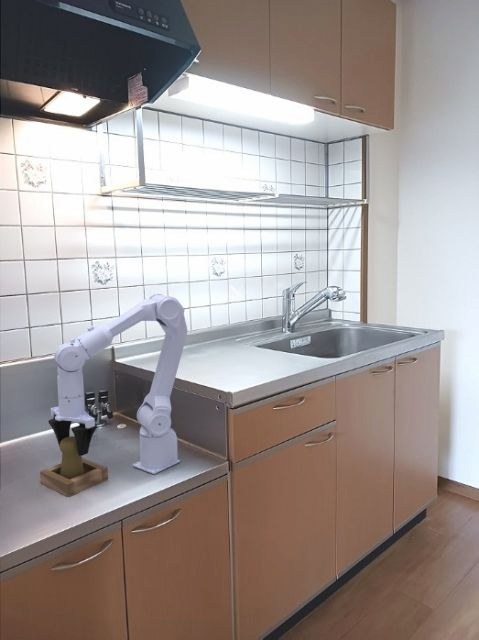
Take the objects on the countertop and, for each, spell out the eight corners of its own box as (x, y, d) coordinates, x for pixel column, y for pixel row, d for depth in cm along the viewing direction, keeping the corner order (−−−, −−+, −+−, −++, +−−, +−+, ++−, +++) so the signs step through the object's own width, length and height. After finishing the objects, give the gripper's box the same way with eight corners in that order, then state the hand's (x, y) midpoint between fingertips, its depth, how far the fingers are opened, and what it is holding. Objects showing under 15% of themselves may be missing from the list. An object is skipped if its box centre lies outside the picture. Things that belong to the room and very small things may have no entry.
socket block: (80, 467, 127) (79, 456, 127) (107, 479, 120) (107, 467, 120) (40, 483, 118) (40, 471, 118) (68, 497, 112) (67, 484, 111)
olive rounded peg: (62, 490, 115) (60, 444, 113) (56, 480, 120) (55, 436, 118) (88, 484, 118) (87, 439, 116) (82, 474, 123) (80, 431, 122)
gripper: (38, 393, 118) (40, 448, 119) (75, 404, 109) (77, 463, 111) (64, 387, 123) (66, 439, 125) (101, 397, 115) (103, 453, 116)
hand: (73, 450), depth 118 cm, fingers open, 7 cm apart
